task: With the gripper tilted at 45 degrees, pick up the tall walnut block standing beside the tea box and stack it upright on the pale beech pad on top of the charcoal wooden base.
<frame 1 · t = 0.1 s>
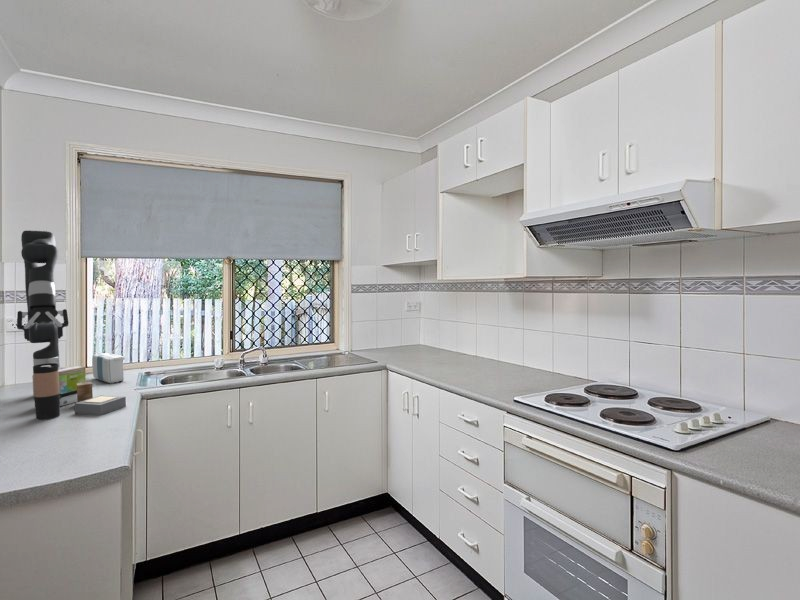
hand: (44, 339, 158), 31 cm above the table, tool tilted 20°, fingers open, 8 cm apart
travel mug: (48, 417, 171), on the table
walnut block: (85, 404, 187), on the table
tea box: (61, 403, 190), on the table
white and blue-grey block: (109, 380, 232), on the table
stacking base: (101, 409, 180), on the table
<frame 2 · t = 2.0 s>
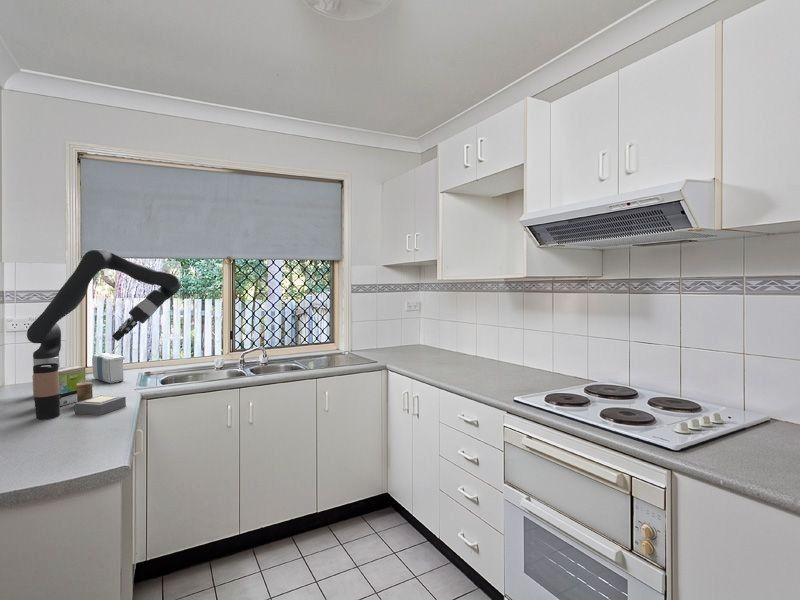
hand: (114, 338, 193), 27 cm above the table, tool tilted 45°, fingers open, 8 cm apart
nothing on the table moved.
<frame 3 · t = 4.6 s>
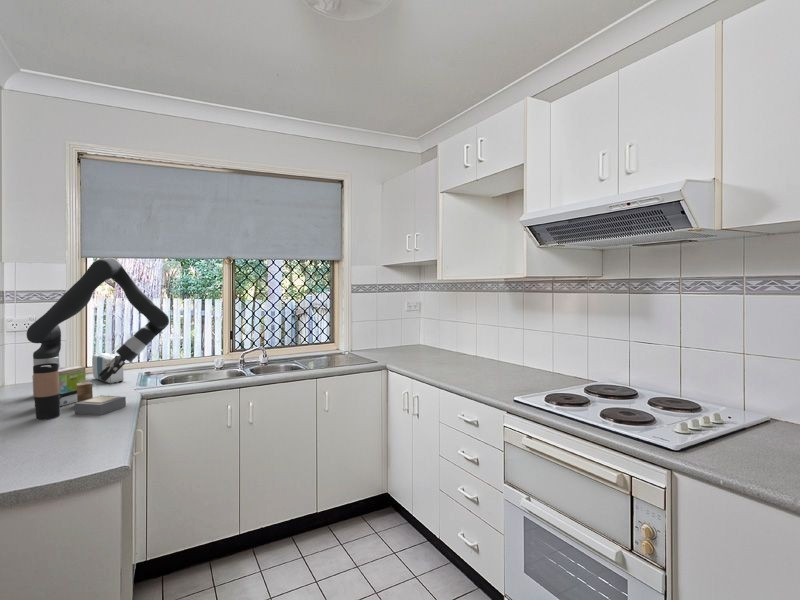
hand: (101, 378, 191), 10 cm above the table, tool tilted 45°, fingers open, 8 cm apart
nothing on the table moved.
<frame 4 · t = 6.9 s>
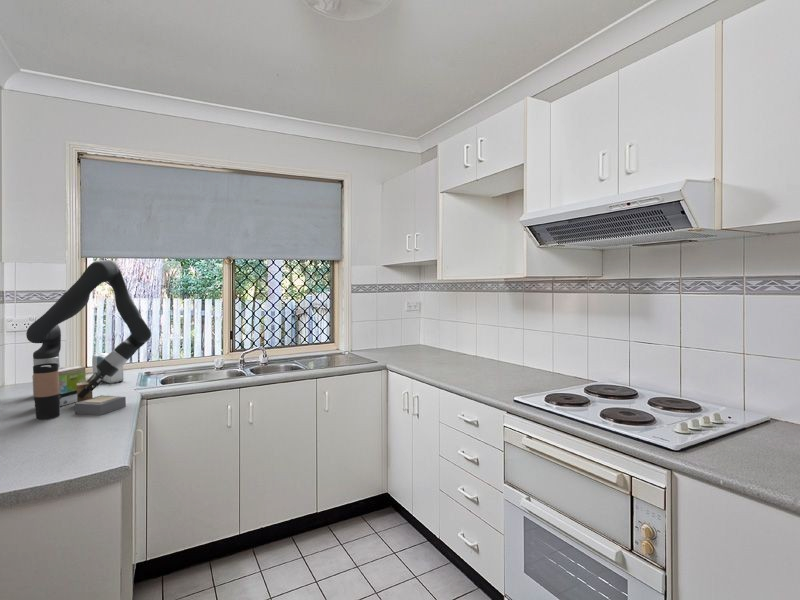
hand: (79, 395, 186), 4 cm above the table, tool tilted 45°, fingers closed on walnut block, 5 cm apart
walnut block: (85, 404, 187), on the table, touching gripper
everything else where it was.
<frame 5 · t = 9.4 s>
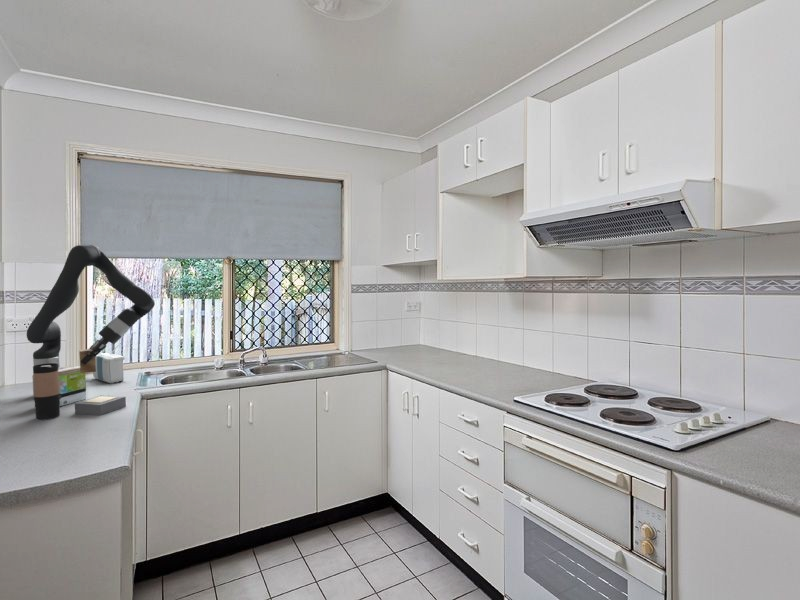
hand: (82, 362, 184), 18 cm above the table, tool tilted 45°, fingers closed on walnut block, 5 cm apart
walnut block: (88, 371, 185), point 14 cm above the table, touching gripper
everything else where it was.
when the fingers open (10 cm above the table, at t = 12.0 s): walnut block drops 1 cm, resting on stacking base.
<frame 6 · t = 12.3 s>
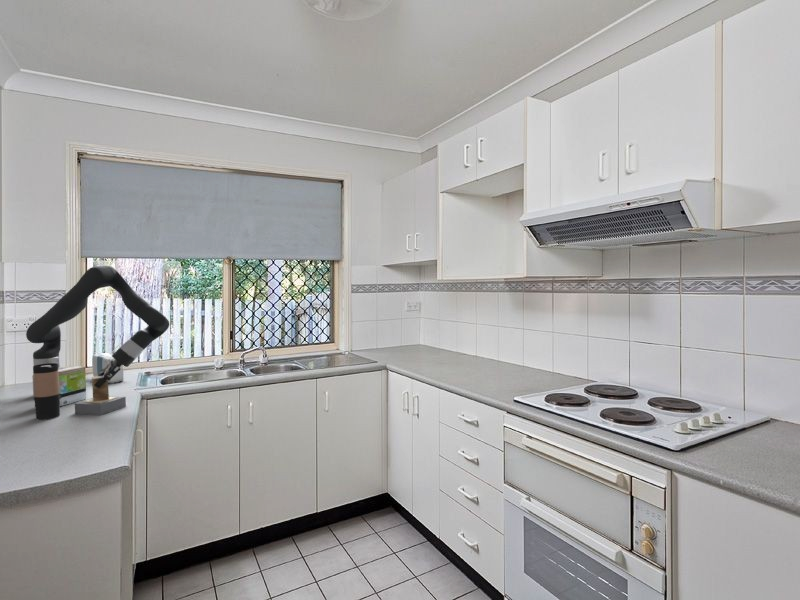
hand: (95, 385, 178), 10 cm above the table, tool tilted 45°, fingers open, 7 cm apart
walnut block: (100, 399, 180), point 4 cm above the table, touching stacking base
everything else where it was.
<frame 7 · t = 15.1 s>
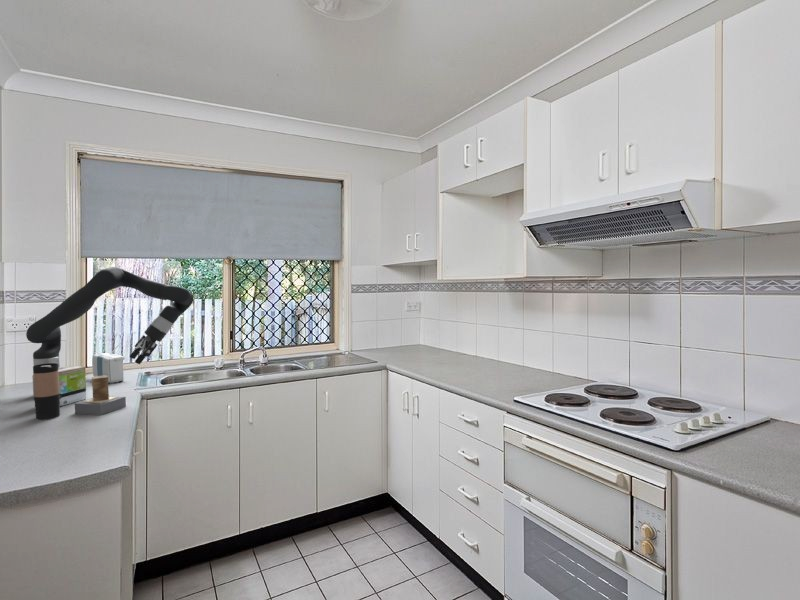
hand: (134, 360, 189), 18 cm above the table, tool tilted 35°, fingers open, 8 cm apart
nothing on the table moved.
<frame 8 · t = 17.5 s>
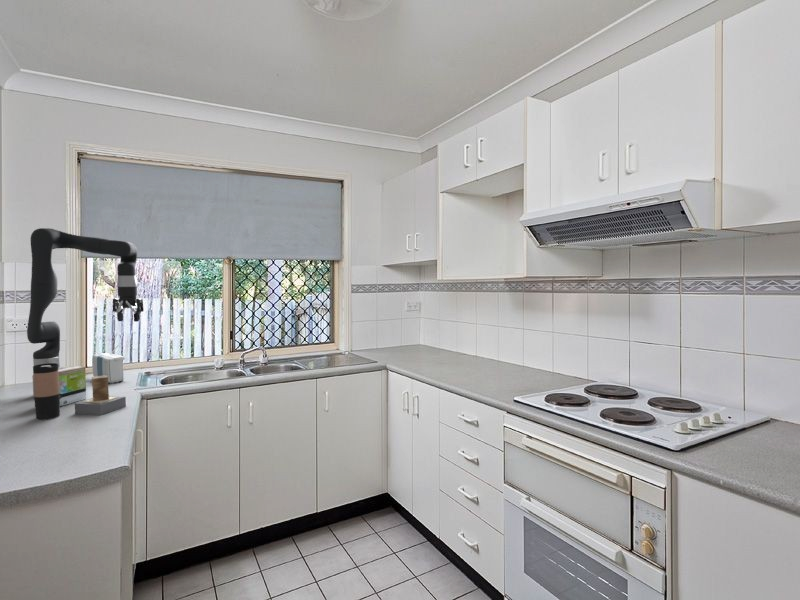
hand: (128, 321, 204), 33 cm above the table, tool pointing down, fingers open, 8 cm apart
nothing on the table moved.
at the end: walnut block inside the target area on the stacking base (0.1 cm from its centre), point 4.3 cm above the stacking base's base; walnut block tilted 0°; the gripper is holding nothing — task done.
